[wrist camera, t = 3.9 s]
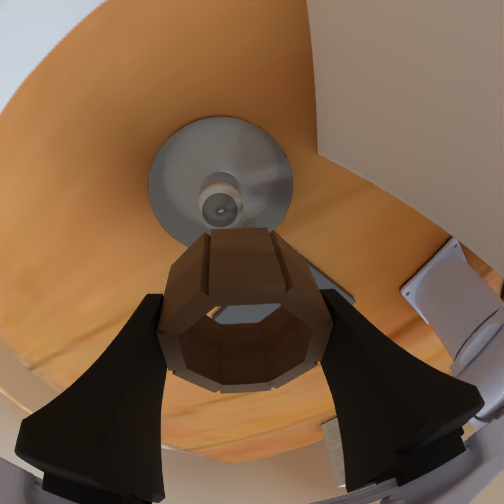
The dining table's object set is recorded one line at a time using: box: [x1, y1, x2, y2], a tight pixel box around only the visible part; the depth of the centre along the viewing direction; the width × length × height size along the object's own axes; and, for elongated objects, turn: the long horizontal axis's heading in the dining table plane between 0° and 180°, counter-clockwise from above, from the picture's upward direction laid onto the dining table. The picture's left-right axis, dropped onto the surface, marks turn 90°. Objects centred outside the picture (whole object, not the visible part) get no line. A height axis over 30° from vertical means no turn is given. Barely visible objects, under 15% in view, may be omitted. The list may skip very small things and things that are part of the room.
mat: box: [212, 256, 356, 324], centre depth 23 cm, size 9×9×1 cm
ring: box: [156, 227, 333, 394], centre depth 11 cm, size 6×6×4 cm
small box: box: [321, 417, 346, 487], centre depth 35 cm, size 8×6×13 cm
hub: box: [148, 116, 293, 247], centre depth 16 cm, size 9×9×4 cm
